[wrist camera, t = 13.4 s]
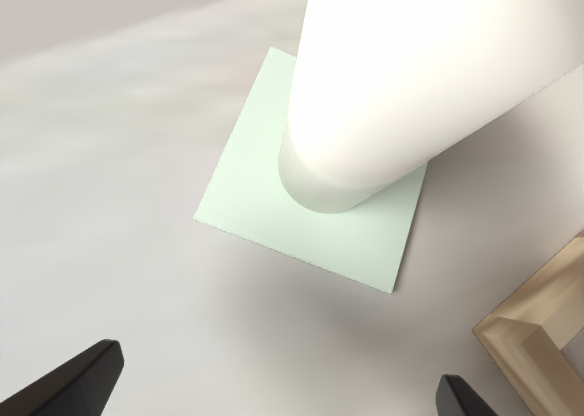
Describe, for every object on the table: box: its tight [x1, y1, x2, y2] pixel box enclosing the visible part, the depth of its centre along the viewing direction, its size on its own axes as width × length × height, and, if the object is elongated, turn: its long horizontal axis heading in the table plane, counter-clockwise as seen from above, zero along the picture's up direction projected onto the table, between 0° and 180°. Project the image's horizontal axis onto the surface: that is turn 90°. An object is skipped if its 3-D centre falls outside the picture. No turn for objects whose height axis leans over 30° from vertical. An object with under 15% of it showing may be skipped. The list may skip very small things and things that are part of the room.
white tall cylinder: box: [278, 0, 584, 214], centre depth 12 cm, size 8×6×13 cm
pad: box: [193, 47, 428, 294], centre depth 19 cm, size 12×12×1 cm
